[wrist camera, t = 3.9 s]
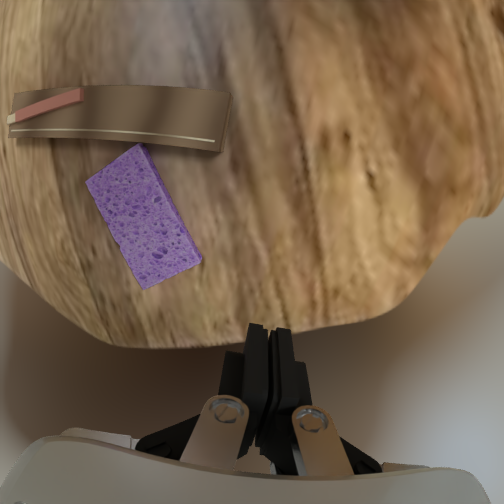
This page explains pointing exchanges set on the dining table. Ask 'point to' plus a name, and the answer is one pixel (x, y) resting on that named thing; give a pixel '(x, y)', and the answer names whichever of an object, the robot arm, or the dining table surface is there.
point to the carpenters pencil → (47, 105)
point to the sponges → (143, 217)
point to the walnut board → (131, 115)
